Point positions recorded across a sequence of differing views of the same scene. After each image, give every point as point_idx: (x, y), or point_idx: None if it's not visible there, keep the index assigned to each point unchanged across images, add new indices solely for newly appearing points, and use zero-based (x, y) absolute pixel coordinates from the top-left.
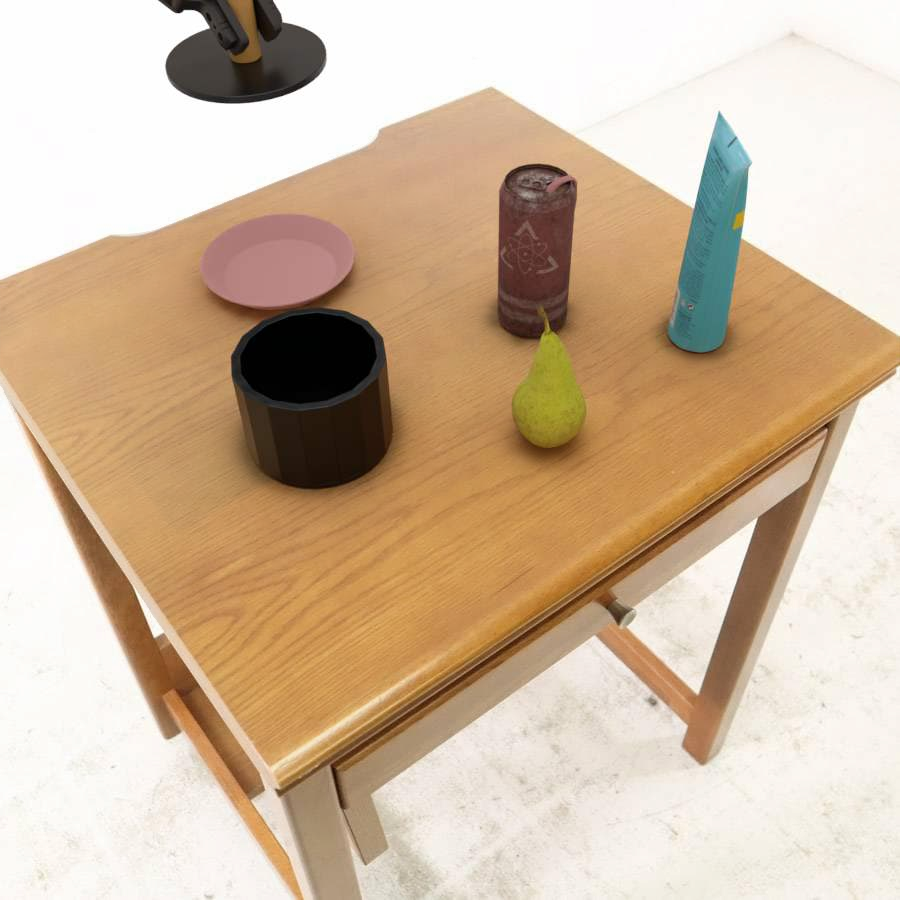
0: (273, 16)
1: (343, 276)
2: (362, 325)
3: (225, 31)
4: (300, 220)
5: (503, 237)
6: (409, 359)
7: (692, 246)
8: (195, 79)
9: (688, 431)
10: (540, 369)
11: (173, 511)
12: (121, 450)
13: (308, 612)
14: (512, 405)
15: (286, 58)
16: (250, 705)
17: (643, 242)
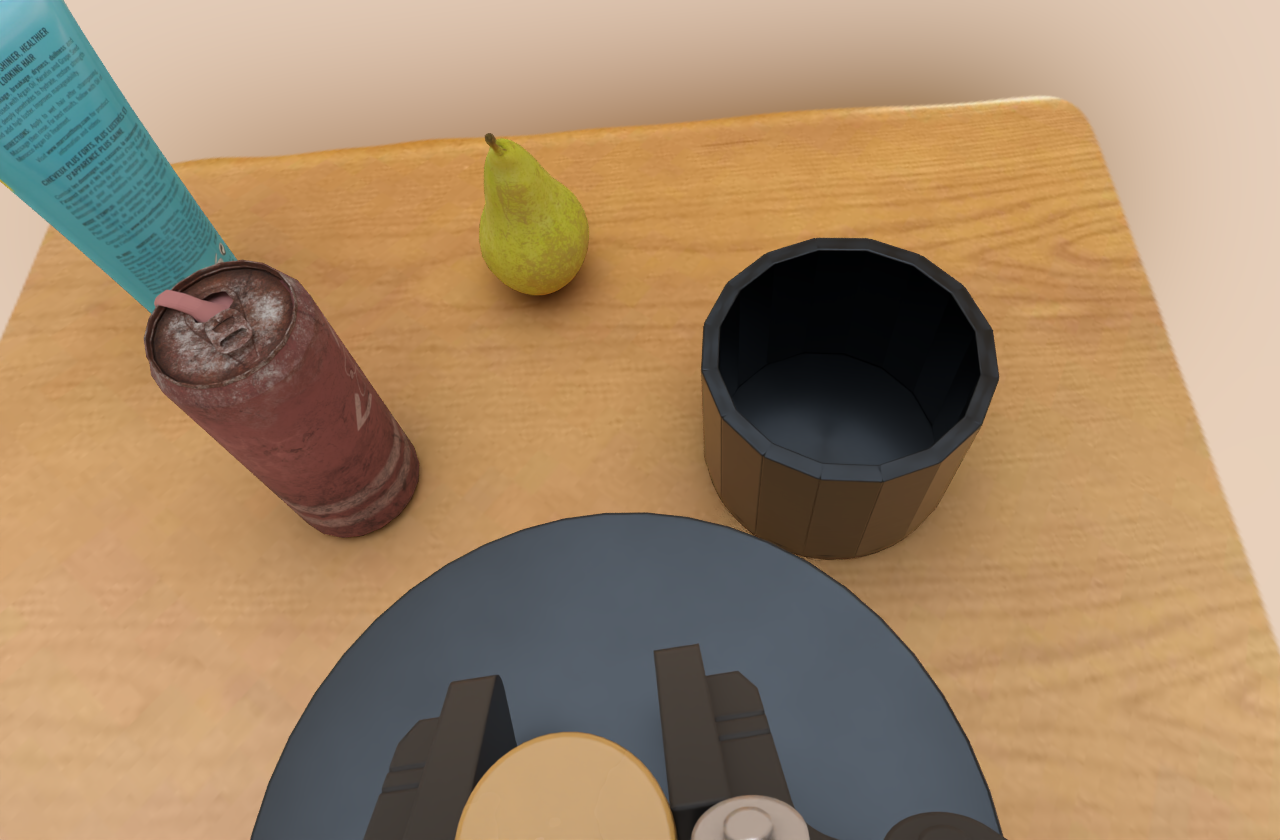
0: (458, 706)
1: None
2: (717, 366)
3: (748, 701)
4: None
5: (345, 392)
6: None
7: (148, 201)
8: (910, 809)
9: (395, 201)
10: (539, 168)
11: (1103, 437)
12: (1165, 611)
13: (974, 213)
14: (576, 251)
15: None
16: (1083, 153)
17: (46, 536)
